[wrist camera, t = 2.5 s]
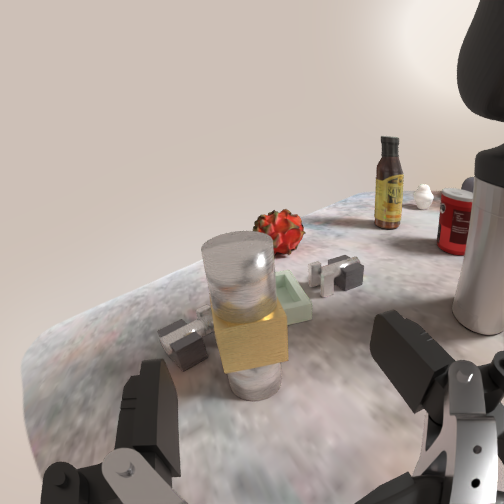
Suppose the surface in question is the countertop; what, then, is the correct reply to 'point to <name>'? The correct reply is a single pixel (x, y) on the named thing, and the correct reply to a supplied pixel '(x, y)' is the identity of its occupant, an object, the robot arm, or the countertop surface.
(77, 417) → the countertop surface
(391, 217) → the sauce bottle
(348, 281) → the shaft
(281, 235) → the dragon fruit
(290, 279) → the mint green tray
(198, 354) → the shaft
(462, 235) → the canned food
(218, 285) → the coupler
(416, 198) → the muffin
